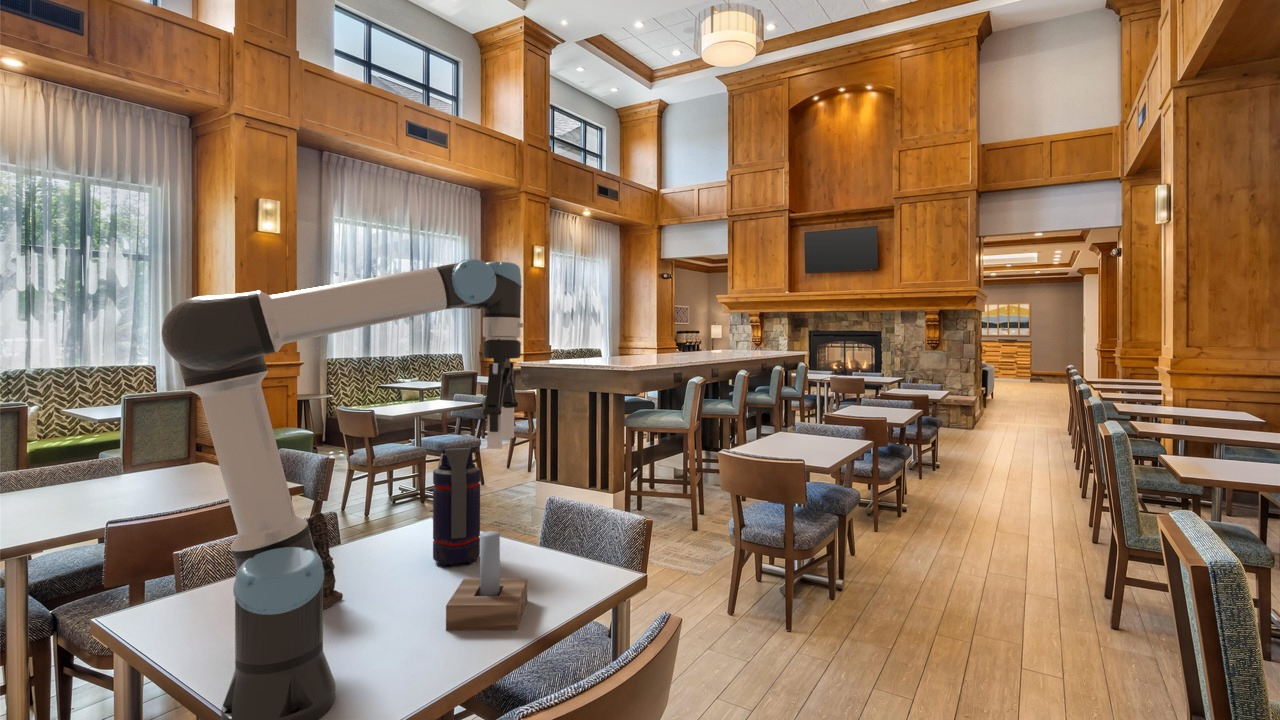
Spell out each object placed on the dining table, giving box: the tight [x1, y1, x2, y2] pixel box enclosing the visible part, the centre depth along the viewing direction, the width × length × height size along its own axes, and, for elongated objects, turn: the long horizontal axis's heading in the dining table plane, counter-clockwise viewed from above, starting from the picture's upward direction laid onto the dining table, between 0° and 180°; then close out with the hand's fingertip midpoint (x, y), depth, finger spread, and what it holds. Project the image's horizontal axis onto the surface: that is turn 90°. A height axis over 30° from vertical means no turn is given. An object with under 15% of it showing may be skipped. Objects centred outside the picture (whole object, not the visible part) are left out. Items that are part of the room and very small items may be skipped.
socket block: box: [445, 577, 528, 631], centre depth 127 cm, size 14×14×5 cm
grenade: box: [432, 446, 481, 568], centre depth 158 cm, size 14×12×30 cm
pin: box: [479, 530, 501, 596], centre depth 127 cm, size 4×4×16 cm
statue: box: [305, 512, 344, 611], centre depth 132 cm, size 7×7×20 cm
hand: (501, 443), depth 124 cm, fingers open, 13 cm apart
